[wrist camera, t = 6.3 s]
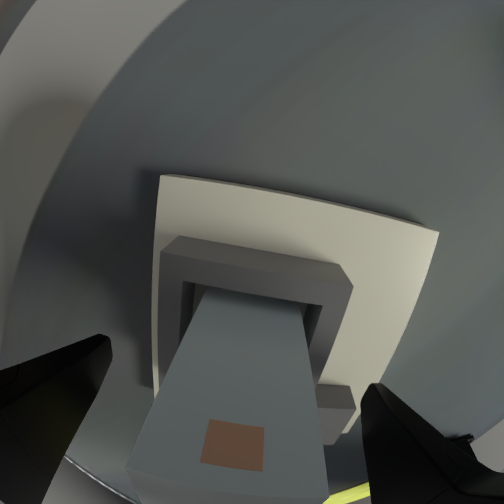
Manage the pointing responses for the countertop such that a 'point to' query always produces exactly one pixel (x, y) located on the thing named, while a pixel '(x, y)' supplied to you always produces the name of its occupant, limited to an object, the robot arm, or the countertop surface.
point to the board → (291, 277)
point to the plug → (234, 411)
